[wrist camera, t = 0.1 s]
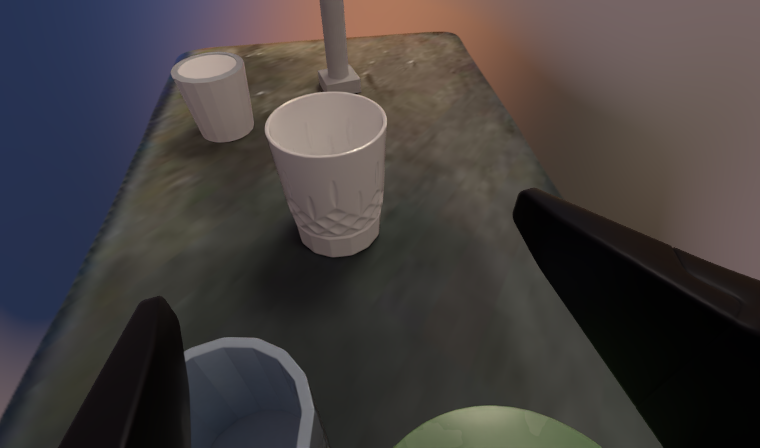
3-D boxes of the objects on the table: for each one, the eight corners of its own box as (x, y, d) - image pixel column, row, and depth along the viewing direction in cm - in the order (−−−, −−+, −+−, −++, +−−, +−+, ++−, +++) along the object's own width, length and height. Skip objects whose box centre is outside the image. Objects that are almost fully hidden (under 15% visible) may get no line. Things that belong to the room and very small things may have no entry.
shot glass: (242, 105, 48) (224, 44, 42) (271, 129, 44) (256, 66, 39) (185, 126, 44) (159, 64, 39) (211, 154, 41) (186, 89, 36)
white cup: (272, 228, 33) (240, 122, 26) (342, 183, 37) (331, 80, 30) (336, 282, 29) (318, 174, 22) (407, 225, 33) (412, 118, 26)
